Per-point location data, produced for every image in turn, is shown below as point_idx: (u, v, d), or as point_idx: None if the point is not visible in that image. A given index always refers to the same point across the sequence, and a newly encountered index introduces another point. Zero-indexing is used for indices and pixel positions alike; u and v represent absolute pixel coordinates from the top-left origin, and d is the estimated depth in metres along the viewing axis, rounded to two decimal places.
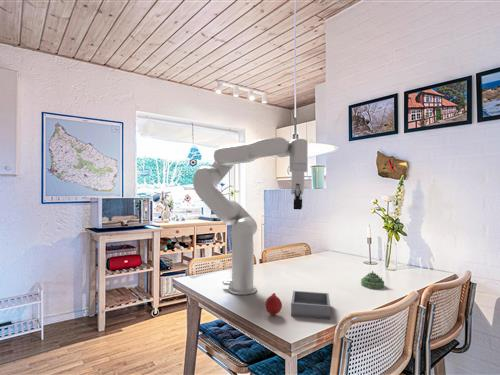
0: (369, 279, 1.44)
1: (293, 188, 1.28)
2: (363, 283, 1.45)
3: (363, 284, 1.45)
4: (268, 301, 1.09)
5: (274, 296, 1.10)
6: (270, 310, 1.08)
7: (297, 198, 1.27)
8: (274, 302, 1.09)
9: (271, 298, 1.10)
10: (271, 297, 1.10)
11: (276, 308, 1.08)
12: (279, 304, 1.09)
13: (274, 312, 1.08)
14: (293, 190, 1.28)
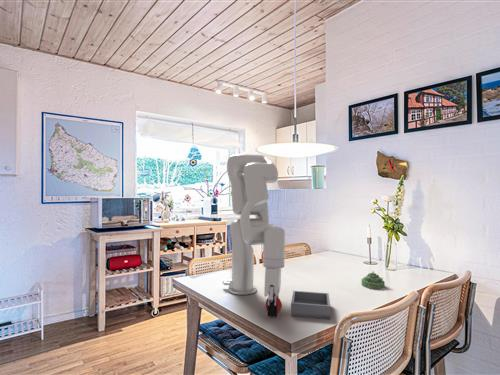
0: (369, 279, 1.44)
1: (266, 290, 1.06)
2: (363, 283, 1.45)
3: (363, 284, 1.45)
4: None
5: None
6: None
7: (271, 305, 1.06)
8: None
9: None
10: None
11: None
12: (279, 304, 1.09)
13: None
14: (266, 292, 1.06)
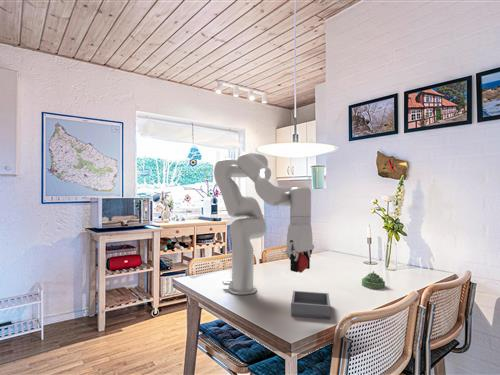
0: (370, 279, 1.44)
1: (287, 245, 1.12)
2: (364, 283, 1.44)
3: (364, 284, 1.44)
4: None
5: (300, 253, 1.14)
6: None
7: (291, 259, 1.11)
8: (298, 258, 1.12)
9: None
10: None
11: (299, 264, 1.12)
12: (302, 261, 1.12)
13: None
14: (287, 247, 1.12)
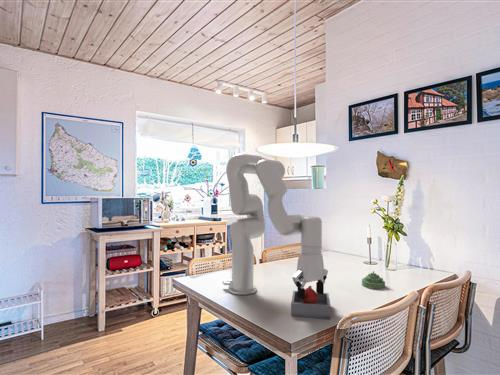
0: (370, 279, 1.43)
1: None
2: (364, 283, 1.44)
3: (364, 284, 1.44)
4: None
5: (309, 288, 1.16)
6: (303, 300, 1.15)
7: (298, 286, 1.13)
8: (306, 294, 1.14)
9: (306, 289, 1.16)
10: (306, 289, 1.16)
11: (307, 299, 1.14)
12: (311, 297, 1.14)
13: (306, 303, 1.14)
14: None
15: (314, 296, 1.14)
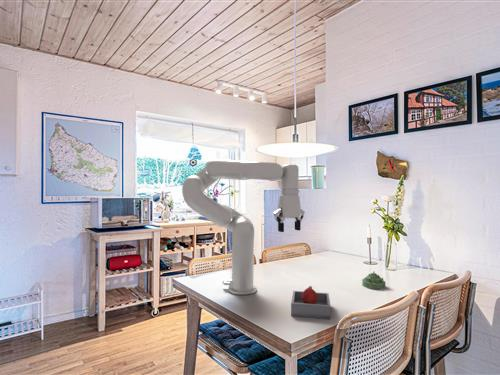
0: (370, 279, 1.43)
1: None
2: (364, 283, 1.44)
3: (364, 284, 1.44)
4: (303, 292, 1.16)
5: (309, 289, 1.15)
6: (303, 300, 1.15)
7: (278, 221, 1.35)
8: (307, 294, 1.14)
9: (306, 289, 1.16)
10: (306, 289, 1.16)
11: (307, 299, 1.13)
12: (311, 297, 1.13)
13: (306, 303, 1.14)
14: (278, 213, 1.37)
15: (314, 296, 1.14)
